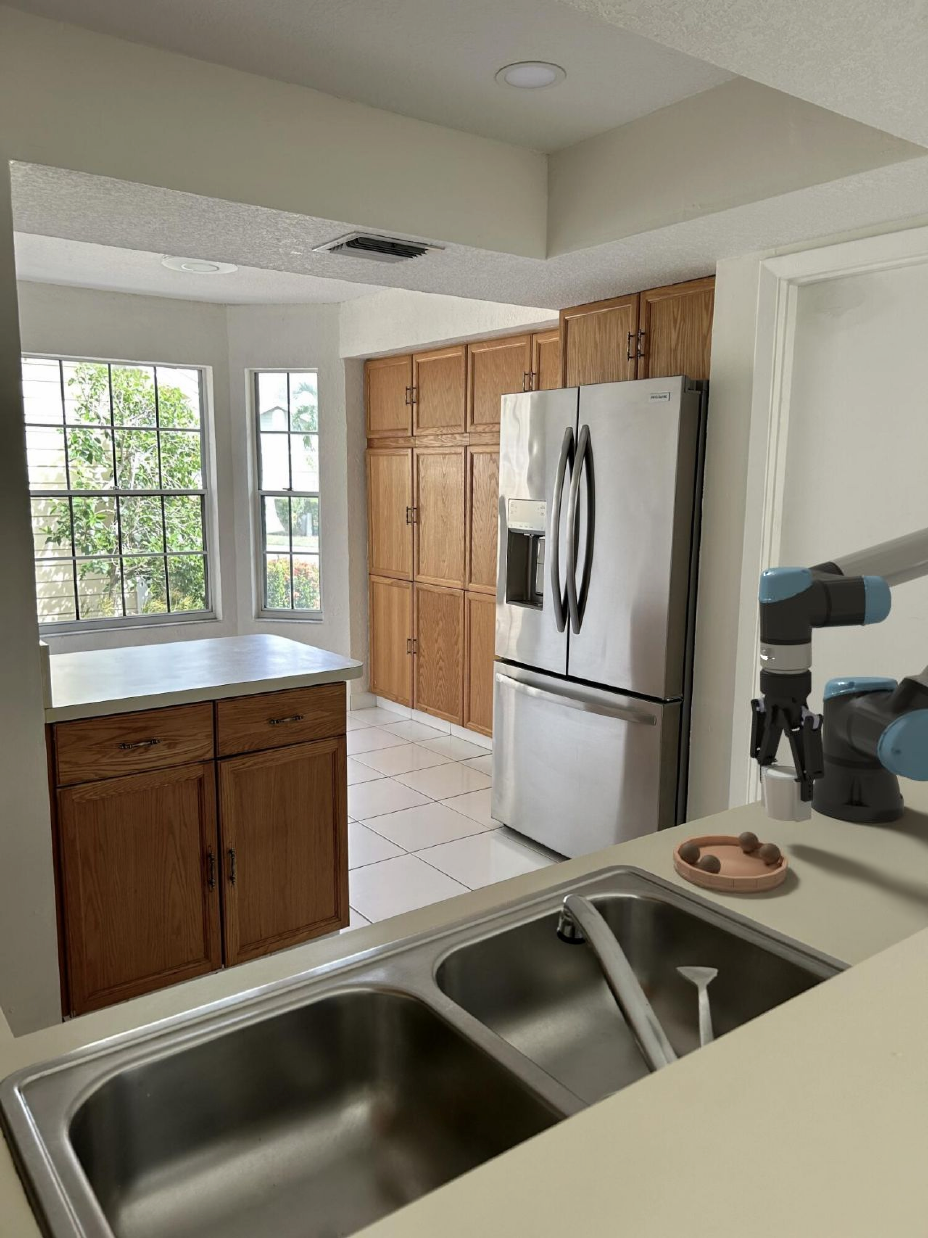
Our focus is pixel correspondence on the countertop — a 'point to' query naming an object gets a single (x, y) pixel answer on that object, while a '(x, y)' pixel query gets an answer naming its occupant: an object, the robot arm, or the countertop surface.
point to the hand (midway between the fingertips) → (785, 812)
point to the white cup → (779, 792)
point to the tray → (731, 866)
